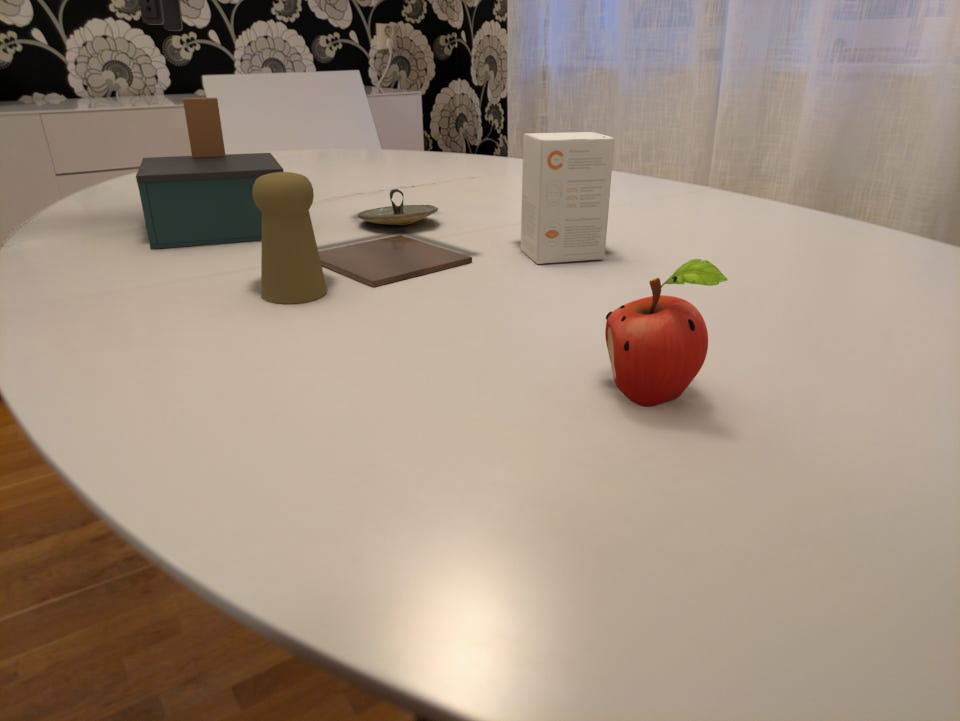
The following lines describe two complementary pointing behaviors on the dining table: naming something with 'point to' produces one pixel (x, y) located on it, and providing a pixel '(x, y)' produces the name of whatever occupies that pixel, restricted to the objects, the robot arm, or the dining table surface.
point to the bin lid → (205, 152)
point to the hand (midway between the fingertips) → (163, 27)
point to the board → (389, 259)
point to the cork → (288, 239)
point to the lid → (397, 213)
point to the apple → (660, 339)
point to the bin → (200, 212)
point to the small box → (565, 196)
